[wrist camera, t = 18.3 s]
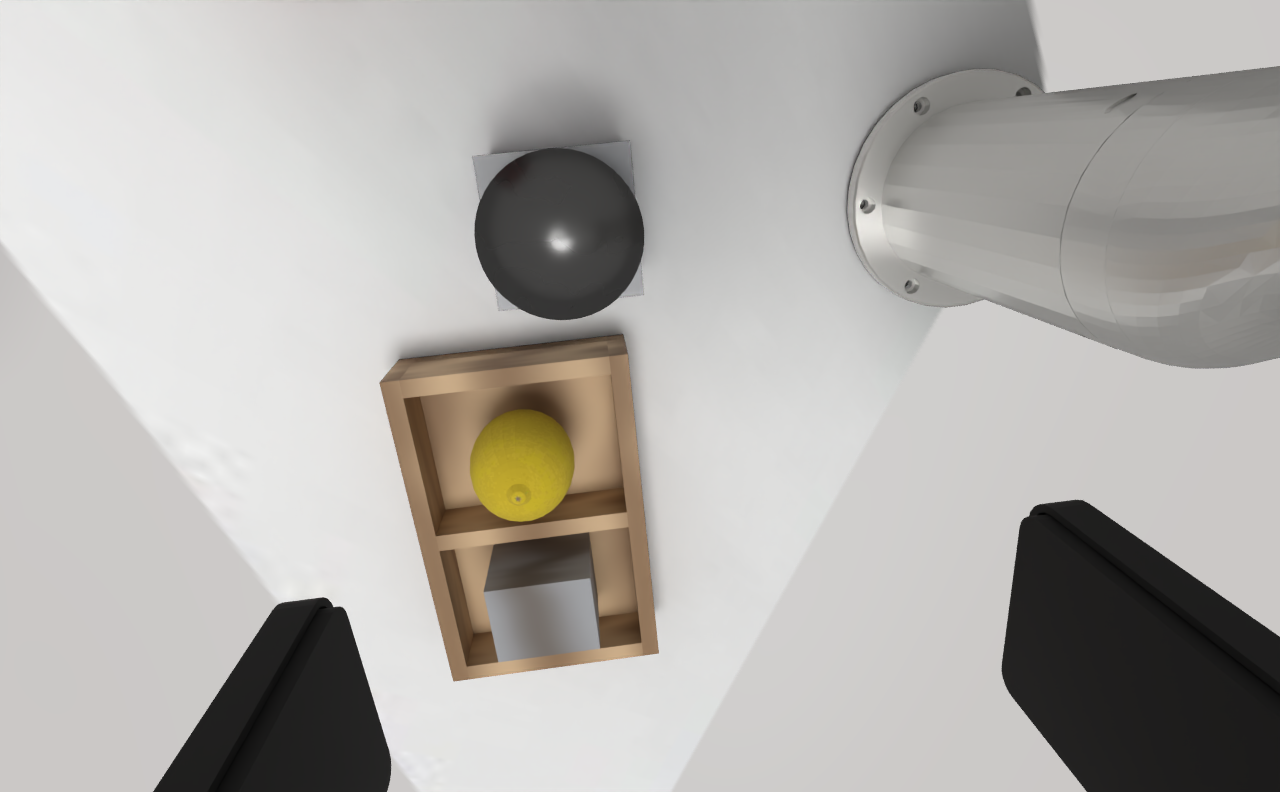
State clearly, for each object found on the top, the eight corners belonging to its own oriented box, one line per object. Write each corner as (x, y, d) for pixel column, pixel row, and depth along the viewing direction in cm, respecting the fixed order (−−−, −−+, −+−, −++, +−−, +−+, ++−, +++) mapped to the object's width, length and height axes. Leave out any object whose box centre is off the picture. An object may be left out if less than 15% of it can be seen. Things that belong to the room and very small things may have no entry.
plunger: (622, 141, 35) (635, 139, 27) (635, 275, 37) (651, 310, 29) (487, 154, 34) (459, 157, 26) (509, 289, 37) (490, 328, 29)
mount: (621, 141, 35) (630, 140, 30) (634, 272, 38) (644, 294, 32) (489, 154, 35) (472, 155, 29) (510, 286, 37) (498, 311, 32)
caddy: (623, 334, 39) (630, 365, 33) (652, 612, 46) (662, 676, 40) (398, 359, 38) (368, 396, 33) (463, 637, 45) (447, 706, 40)
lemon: (461, 416, 39) (437, 478, 31) (546, 374, 38) (542, 426, 31) (508, 491, 41) (496, 566, 33) (589, 452, 40) (596, 518, 33)
